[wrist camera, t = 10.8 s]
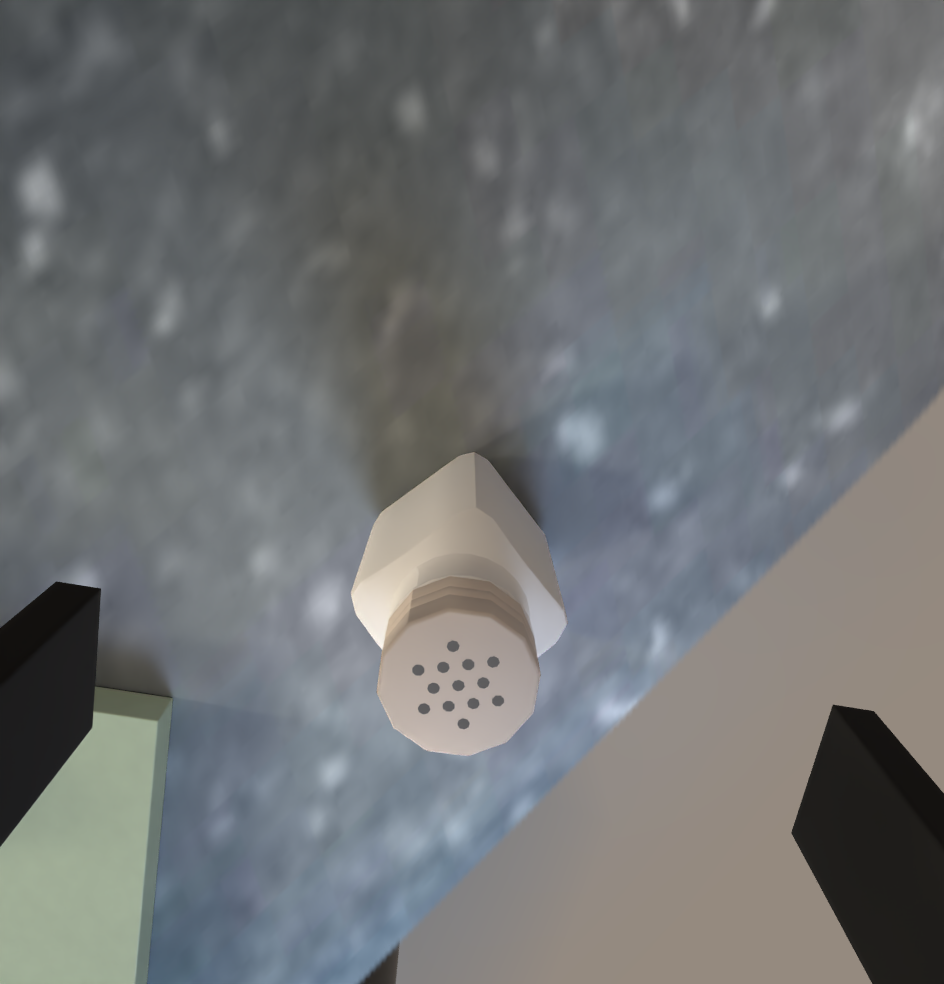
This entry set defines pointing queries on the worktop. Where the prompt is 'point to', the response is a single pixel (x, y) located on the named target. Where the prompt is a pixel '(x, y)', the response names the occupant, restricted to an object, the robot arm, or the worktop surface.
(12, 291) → the worktop surface
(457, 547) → the pepper shaker
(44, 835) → the scale
